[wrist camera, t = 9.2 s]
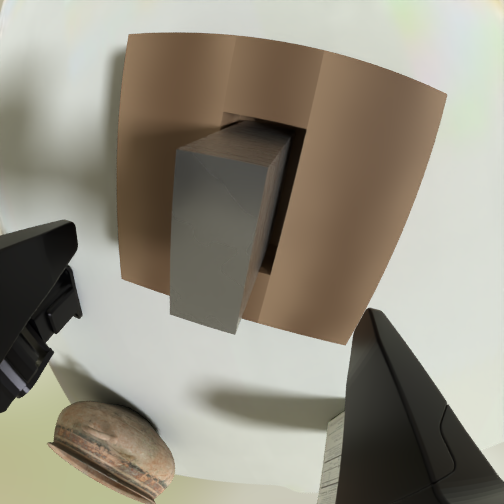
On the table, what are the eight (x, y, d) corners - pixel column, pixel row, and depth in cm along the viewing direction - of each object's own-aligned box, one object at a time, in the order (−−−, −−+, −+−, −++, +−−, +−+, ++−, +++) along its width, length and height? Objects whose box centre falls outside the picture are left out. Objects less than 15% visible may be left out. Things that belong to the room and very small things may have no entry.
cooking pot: (63, 346, 33) (14, 410, 23) (191, 406, 32) (153, 494, 21) (97, 421, 46) (71, 467, 36) (186, 461, 45) (165, 514, 35)
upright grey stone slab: (230, 223, 17) (170, 314, 11) (246, 120, 14) (176, 149, 8) (272, 234, 17) (234, 334, 10) (295, 130, 14) (267, 167, 7)
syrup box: (401, 411, 25) (401, 541, 13) (366, 433, 28) (356, 548, 16) (359, 398, 25) (348, 544, 12) (325, 422, 28) (305, 547, 16)
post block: (151, 247, 21) (121, 278, 18) (167, 42, 14) (128, 34, 10) (344, 302, 20) (345, 345, 16) (419, 92, 12) (447, 94, 9)
